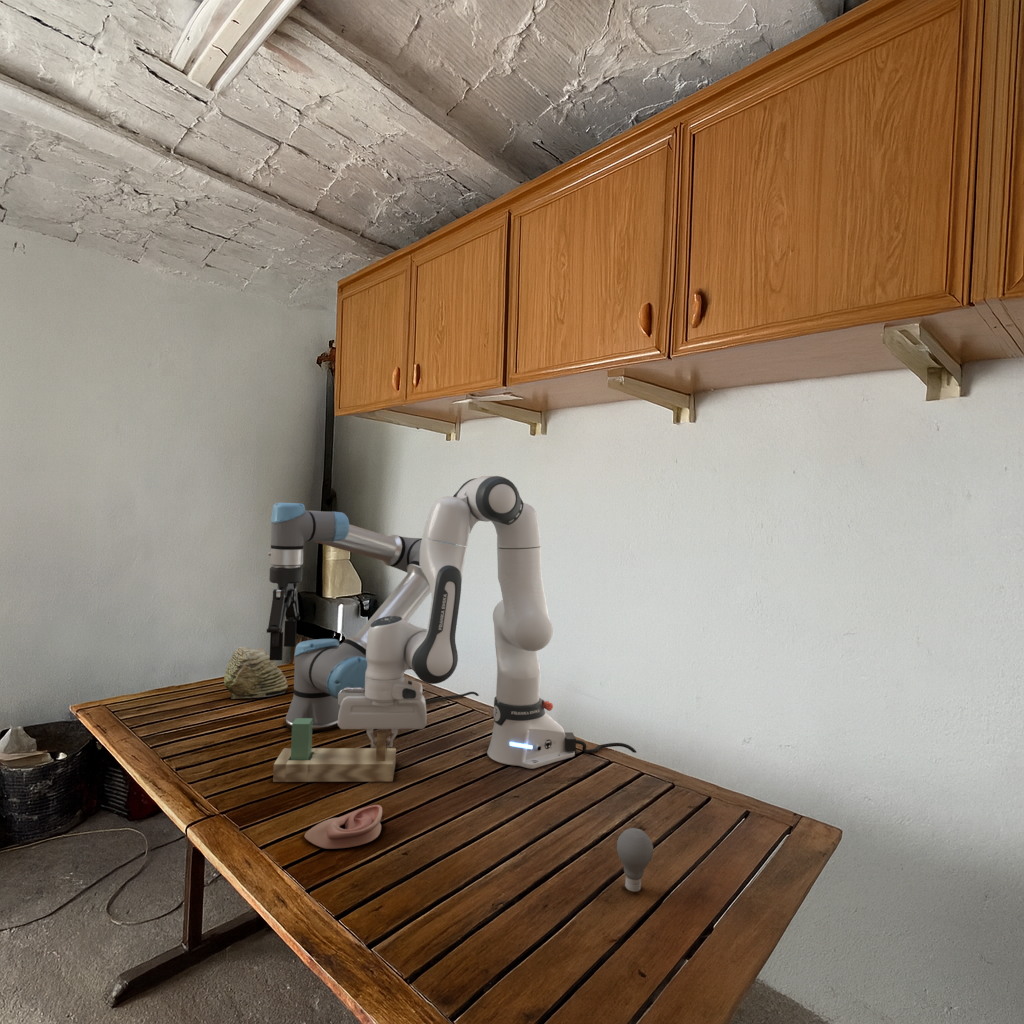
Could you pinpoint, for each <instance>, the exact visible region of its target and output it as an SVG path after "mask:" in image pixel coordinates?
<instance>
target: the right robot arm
mask: <svg viewBox="0 0 1024 1024" xmlns="http://www.w3.org/2000/svg"><path fill="white" fill-rule="evenodd" d="M538 519H539V518H538V515H537V510H536V509H535V508H534V507H533V506H532V505H530V504H528V503H526V502H524V501H523V499H522V497H521V496H520V493H519V490H518V488H517V487H516V485H515V484H514V483H513V482H512V481H511V480H510V479H508V478H506V477H503V476H500V475H482V476H479V477H476V478H471V479H468V480H467V481H465V482H464V483H463V484H462V485H461V486H460V487H459V488H458V490H457V491H456V492H455V493H454V494H453V496H451V495H447V496H442V497H440V498H437V499H436V500H435V501H434V502H433V504H432V506H431V509H430V511H429V514H428V516H427V519H426V522H425V525H424V529H423V532H422V536H421V538H422V541H421V546H420V557H419V564H420V568H421V570H422V572H423V573H424V575H425V577H426V578H427V580H428V583H429V585H430V588H431V593H430V594H431V602H430V608H429V616H428V621H427V622H428V623H427V628H425V627H424V628H423V627H421V626H420V627H419V626H416V625H414V624H413V623H410V622H408V621H405V620H404V619H402V618H401V617H398V616H387V617H382V618H379V619H377V620H375V621H374V622H373V623H372V624H371V625H370V628H369V631H368V636H367V645H366V659H367V669H366V672H365V687H357V688H356V687H355V688H351V687H346V688H345V689H342V690H341V691H340V692H339V693H338V704H339V706H340V709H339V715H338V726H337V727H338V728H339V729H340V730H366V736H367V737H368V739H369V741H370V748H376V746H377V737H375V735H374V730H378V729H388V730H391V736H390V737H388V738H387V740H386V748H394V747H393V746H394V741H395V739H396V737H397V735H398V733H399V730H423V729H425V728H426V727H427V724H428V721H427V720H428V712H427V711H428V710H427V703H426V702H425V700H426V697H425V696H424V695H423V691H424V689H423V684H422V683H421V682H419V681H416V680H413V679H411V678H407V677H405V673H406V671H407V670H412V671H413V672H414V674H415V675H416V676H417V678H418V679H419V680H421V681H422V682H424V683H426V684H428V685H429V684H430V685H436V684H441V683H443V682H445V681H447V680H449V678H450V677H451V676H452V675H453V674H454V672H455V671H456V669H457V666H458V662H459V659H458V658H459V655H458V650H457V644H456V633H457V624H458V617H459V610H460V603H461V594H462V583H463V572H464V566H465V560H466V556H467V550H468V546H469V540H470V535H471V532H472V530H473V529H474V527H475V525H476V524H477V523H478V522H486V523H488V522H491V523H492V524H493V526H494V529H495V532H496V551H497V552H496V555H497V558H496V559H497V579H498V583H499V587H500V591H501V597H502V600H500V601H498V603H496V605H495V606H494V609H493V611H492V621H493V630H494V646H495V657H496V691H495V697H494V700H493V713H492V714H493V727H492V732H491V737H490V742H489V744H488V745H489V746H488V748H487V751H486V754H487V756H488V757H489V758H490V759H491V760H492V761H494V762H496V763H499V764H504V765H508V766H509V765H510V766H515V767H516V766H518V767H522V768H526V769H530V770H531V769H537V768H540V767H541V768H542V767H544V766H547V765H550V764H554V763H556V762H560V761H563V760H567V759H570V758H573V757H575V756H576V753H575V752H576V751H577V745H581V746H582V752H583V753H585V754H593V753H597V752H599V751H600V749H605V748H613V747H621V748H626V749H628V750H629V751H630V752H632V753H633V754H634V753H635V754H636V753H637V750H636V749H635V748H634V747H632V746H631V745H630V744H627V743H623V742H609V743H603V744H602V743H601V744H598V745H596V747H595V748H591V749H587V744H586V742H584V741H583V740H581V739H577V738H576V736H575V734H574V732H572V731H571V732H567V731H566V732H565V730H564V728H563V727H562V726H561V724H560V723H558V722H557V721H556V720H555V719H554V718H553V717H551V716H550V715H549V714H548V713H546V710H547V711H548V712H551V711H552V710H553V709H554V704H553V703H552V702H550V701H548V700H546V701H545V700H544V699H542V698H541V697H540V696H541V672H542V670H541V664H540V660H539V655H538V651H540V650H543V649H544V648H546V647H547V646H548V645H549V643H550V642H551V640H552V638H553V632H554V627H553V623H552V622H551V621H552V620H551V619H550V614H549V610H548V602H547V598H546V592H545V587H544V582H543V573H542V572H543V571H542V570H543V569H542V545H541V543H542V540H541V531H540V524H539V520H538ZM430 539H431V540H430ZM435 540H437V541H435ZM440 541H442V542H440ZM445 542H447V543H445ZM449 543H452V544H449ZM454 544H456V545H454ZM342 691H345V692H342ZM364 692H365V693H364Z"/></svg>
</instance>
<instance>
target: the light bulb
mask: <svg viewBox="0 0 1024 1024" xmlns="http://www.w3.org/2000/svg"><path fill="white" fill-rule="evenodd" d="M616 852H617V856H618V858H619V860H620V862H621V864H622V866H623V872H624V875H625V882H624V887H625V889H627V890H628V891H630V892H633V893H634V892H635V893H636V892H639V891H641V889H642V878H643V876H644V875H645V869H646V868H647V867H648V865H649V864H650V862H651V860H652V858H653V855H654V845H653V842H652V840H651V838H650V836H649V835H648V834H647V832H645V831H644V830H642V829H640V828H636V827H629V828H627V829H625V830H624V831H623V832H622V833H620V835H619V836H618V839H617V841H616Z"/></svg>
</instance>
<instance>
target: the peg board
mask: <svg viewBox="0 0 1024 1024" xmlns="http://www.w3.org/2000/svg"><path fill="white" fill-rule="evenodd" d="M376 733H377V734H376V738H377V746H376V748H371V747H333V748H332V747H312V751H311V760H291V747H284V748H283V749H282V750H281V752H280V754H279V755H278V757H277V758H276V760H275V762H274V763H273V773H272V776H273V777H272V782H273V783H307V782H308V783H315V782H316V783H317V782H318V783H336V782H337V783H341V782H342V783H343V782H344V783H345V782H347V783H349V782H350V783H351V782H353V783H355V782H363V783H364V782H367V783H369V782H378V783H379V782H394V781H393V780H394V775H395V769H396V760H397V759H396V758H397V748H396V747H392V748H386V740H387V738H389V729H377V732H376Z"/></svg>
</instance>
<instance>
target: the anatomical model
mask: <svg viewBox="0 0 1024 1024" xmlns="http://www.w3.org/2000/svg"><path fill="white" fill-rule="evenodd" d="M382 817H383V807H382V805H380V804H372V805H369V806H365V807H362V808H358V809H356V810H353V811H351V812H348V813H346V814H344V815H341V816H339V817H332V818H328V819H326V820H323V821H321V822H319V823H317V824H316V825H314V826H312V827H311V828H309V829H308V830H307V831H306V832H305V834H304V836H303V837H304V838H305V840H306V841H308V842H309V843H311V844H312V845H314V846H317V847H318V848H321V849H325V850H335V849H337V850H338V849H345V848H352V847H358V846H362V845H365V844H368V843H370V842H372V841H374V840H376V839H377V838H378V837H379V836H380V834H381V831H382V824H381V820H382Z"/></svg>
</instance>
